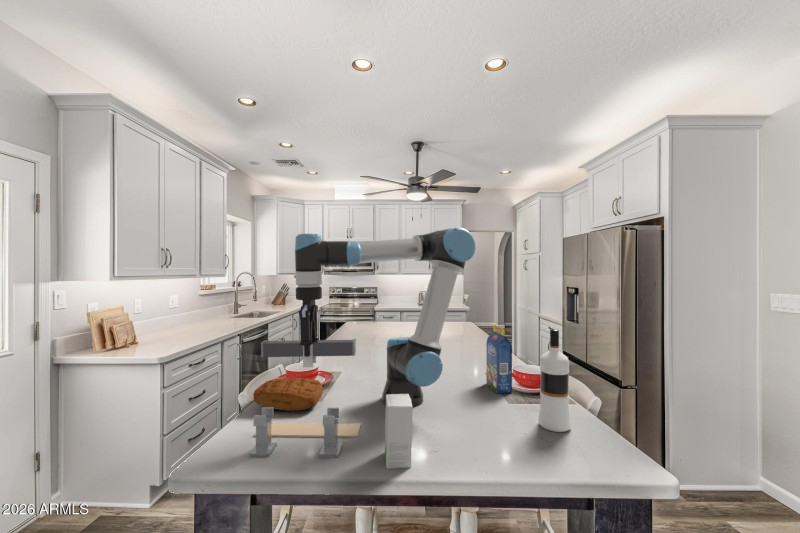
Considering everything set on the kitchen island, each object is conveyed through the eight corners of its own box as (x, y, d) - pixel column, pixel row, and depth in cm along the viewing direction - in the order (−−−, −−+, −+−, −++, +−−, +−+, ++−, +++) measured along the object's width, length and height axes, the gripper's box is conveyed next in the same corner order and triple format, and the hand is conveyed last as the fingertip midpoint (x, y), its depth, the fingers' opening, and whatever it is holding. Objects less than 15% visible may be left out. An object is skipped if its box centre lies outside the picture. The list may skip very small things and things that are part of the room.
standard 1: (277, 445, 99) (277, 407, 99) (268, 457, 93) (268, 416, 93) (259, 445, 99) (259, 407, 99) (249, 456, 93) (249, 416, 93)
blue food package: (500, 383, 153) (500, 324, 153) (512, 393, 141) (512, 329, 141) (486, 383, 152) (486, 324, 152) (496, 393, 140) (496, 329, 140)
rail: (356, 352, 109) (355, 338, 109) (354, 355, 105) (354, 341, 105) (265, 354, 109) (265, 340, 109) (261, 357, 105) (261, 342, 105)
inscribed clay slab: (248, 414, 120) (248, 390, 120) (269, 396, 137) (269, 375, 137) (313, 416, 119) (313, 391, 119) (326, 397, 136) (326, 376, 136)
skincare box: (384, 452, 96) (384, 393, 96) (409, 451, 96) (409, 392, 96) (386, 469, 87) (386, 405, 87) (413, 468, 88) (413, 404, 88)
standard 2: (342, 445, 99) (342, 407, 99) (338, 457, 93) (338, 416, 93) (324, 445, 99) (324, 407, 99) (318, 457, 93) (319, 416, 93)
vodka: (531, 423, 114) (531, 328, 114) (552, 418, 118) (552, 326, 118) (556, 435, 105) (556, 333, 105) (577, 429, 109) (577, 330, 109)
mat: (360, 425, 112) (360, 423, 112) (357, 437, 104) (357, 435, 104) (264, 424, 112) (264, 423, 112) (253, 436, 104) (253, 435, 104)
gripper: (303, 284, 115) (304, 357, 115) (287, 288, 99) (288, 373, 99) (326, 284, 115) (327, 357, 115) (315, 287, 99) (316, 373, 99)
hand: (309, 364), depth 107 cm, fingers closed on rail, 3 cm apart
